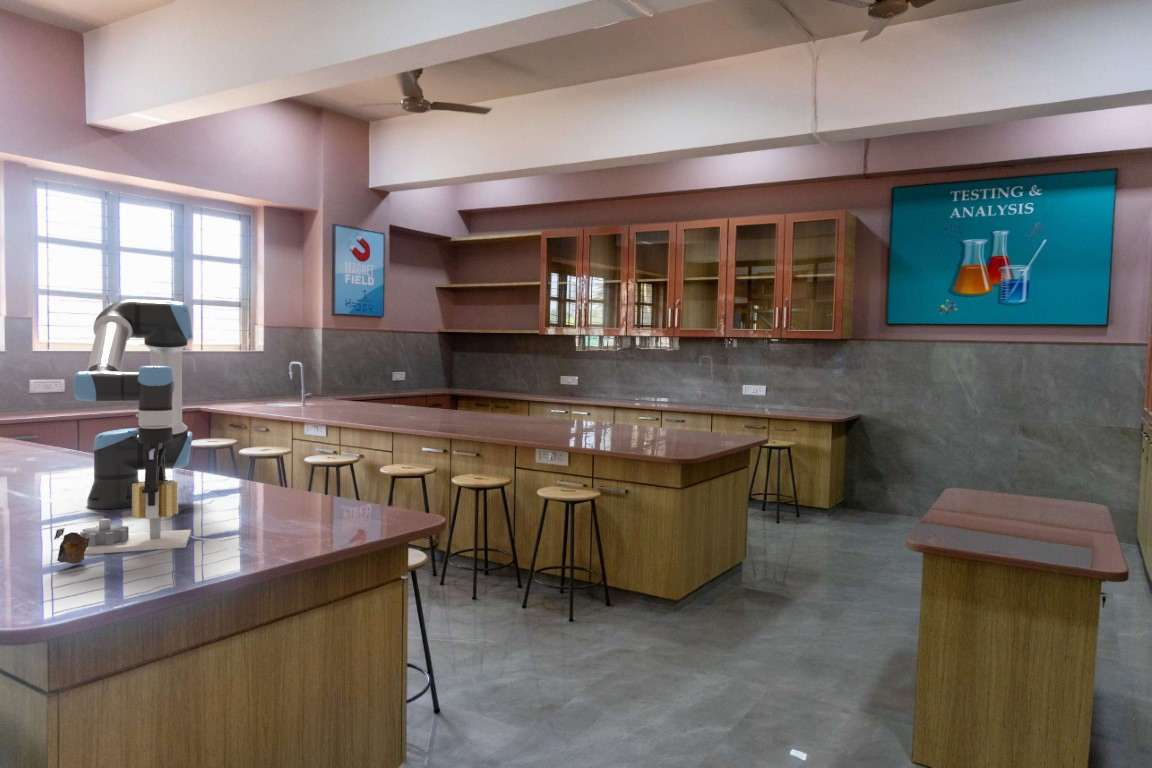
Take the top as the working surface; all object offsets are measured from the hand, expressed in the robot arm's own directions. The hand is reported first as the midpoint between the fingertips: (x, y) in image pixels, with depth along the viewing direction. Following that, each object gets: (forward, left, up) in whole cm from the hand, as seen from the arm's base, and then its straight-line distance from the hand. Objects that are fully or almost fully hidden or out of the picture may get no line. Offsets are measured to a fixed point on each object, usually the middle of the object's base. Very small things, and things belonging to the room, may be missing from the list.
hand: (155, 513), depth 185 cm
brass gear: (0, 0, 0) cm, 0 cm away
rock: (+18, -15, -8) cm, 24 cm away
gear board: (0, -6, -8) cm, 9 cm away
